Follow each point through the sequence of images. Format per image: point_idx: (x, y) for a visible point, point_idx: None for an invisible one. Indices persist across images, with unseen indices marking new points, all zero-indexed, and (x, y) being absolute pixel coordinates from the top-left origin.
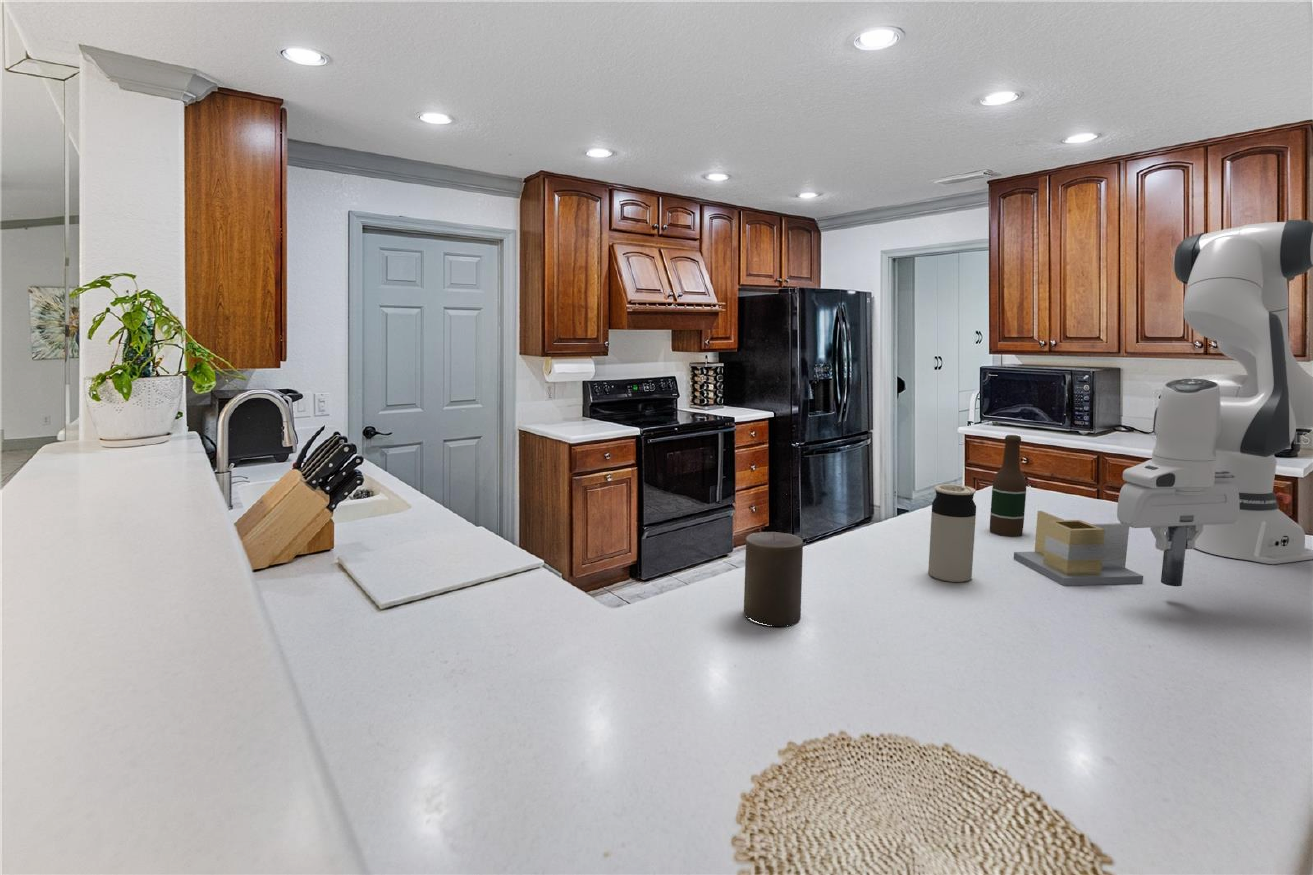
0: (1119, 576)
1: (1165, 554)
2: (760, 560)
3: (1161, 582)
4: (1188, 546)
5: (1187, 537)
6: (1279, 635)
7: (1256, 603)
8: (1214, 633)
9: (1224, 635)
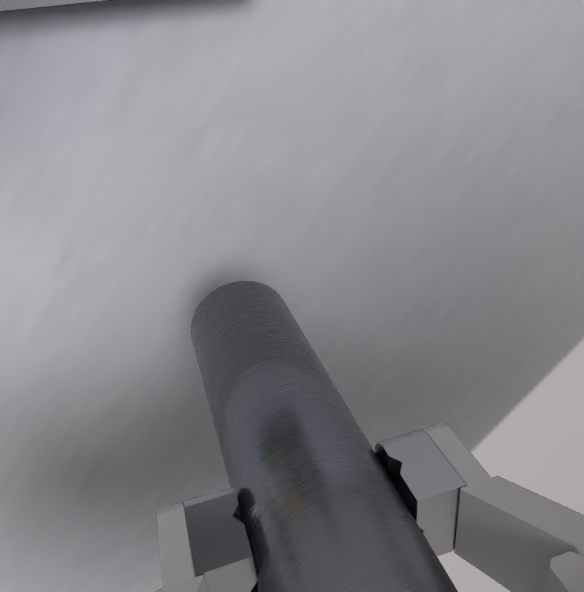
0: (72, 1)
1: (227, 462)
2: None
3: (191, 324)
4: None
5: (467, 519)
6: None
7: (555, 245)
8: None
9: None
